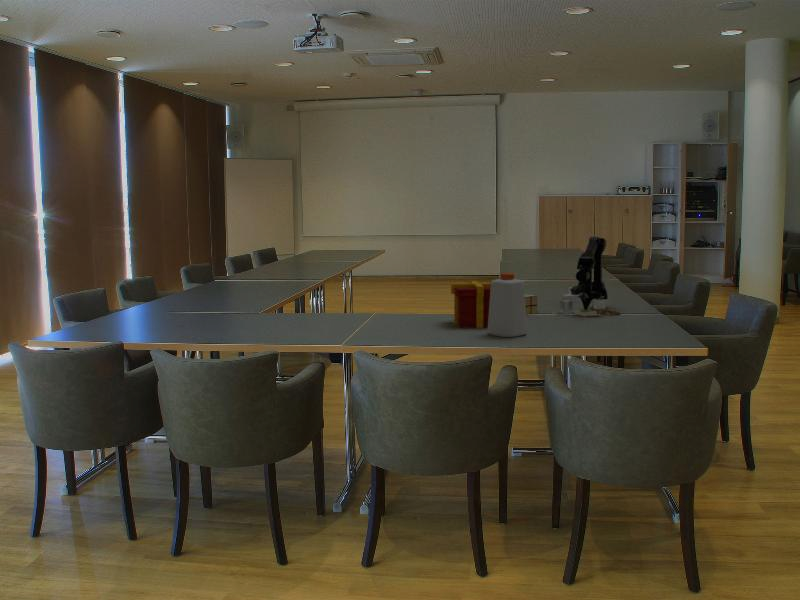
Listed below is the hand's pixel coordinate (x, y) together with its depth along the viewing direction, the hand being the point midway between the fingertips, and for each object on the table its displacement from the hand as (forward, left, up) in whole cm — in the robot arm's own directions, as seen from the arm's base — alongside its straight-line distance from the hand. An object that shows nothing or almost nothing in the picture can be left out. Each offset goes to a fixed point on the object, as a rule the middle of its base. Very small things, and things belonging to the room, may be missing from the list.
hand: (585, 309), depth 413 cm
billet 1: (-9, -6, -3) cm, 11 cm away
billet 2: (-3, +11, -2) cm, 12 cm away
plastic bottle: (+29, -63, -4) cm, 70 cm away
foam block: (-53, +26, -5) cm, 59 cm away
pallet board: (+1, +11, -4) cm, 12 cm away
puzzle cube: (-23, -23, -4) cm, 33 cm away
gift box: (-3, -62, -4) cm, 62 cm away
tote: (-9, -6, -4) cm, 11 cm away
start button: (0, 0, -3) cm, 3 cm away
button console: (0, 0, -4) cm, 4 cm away
